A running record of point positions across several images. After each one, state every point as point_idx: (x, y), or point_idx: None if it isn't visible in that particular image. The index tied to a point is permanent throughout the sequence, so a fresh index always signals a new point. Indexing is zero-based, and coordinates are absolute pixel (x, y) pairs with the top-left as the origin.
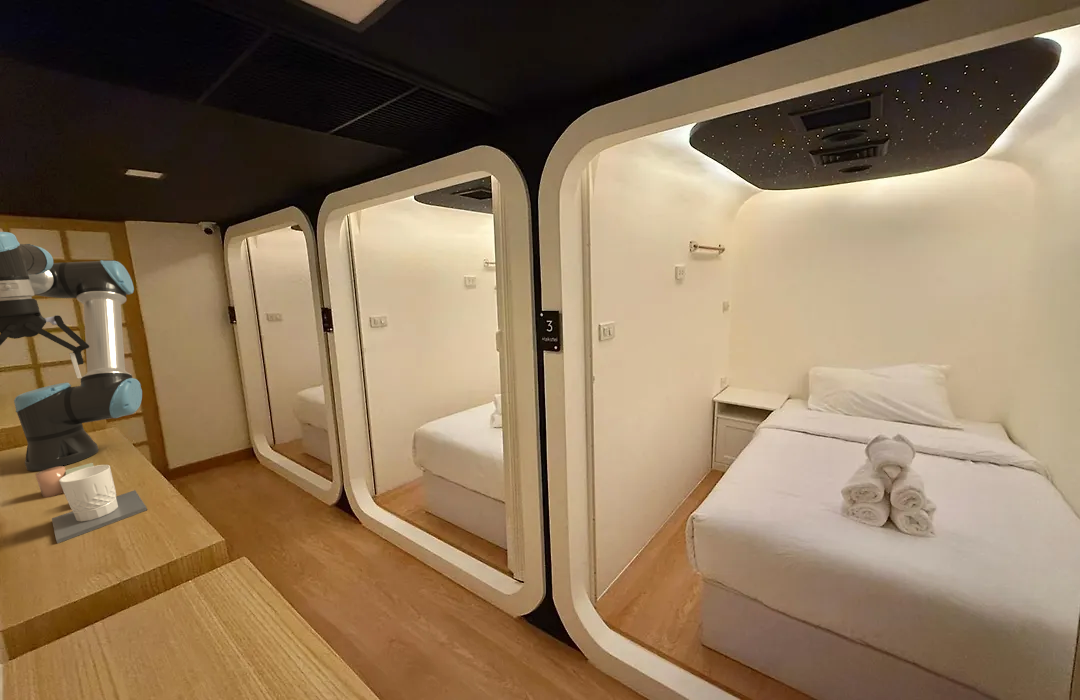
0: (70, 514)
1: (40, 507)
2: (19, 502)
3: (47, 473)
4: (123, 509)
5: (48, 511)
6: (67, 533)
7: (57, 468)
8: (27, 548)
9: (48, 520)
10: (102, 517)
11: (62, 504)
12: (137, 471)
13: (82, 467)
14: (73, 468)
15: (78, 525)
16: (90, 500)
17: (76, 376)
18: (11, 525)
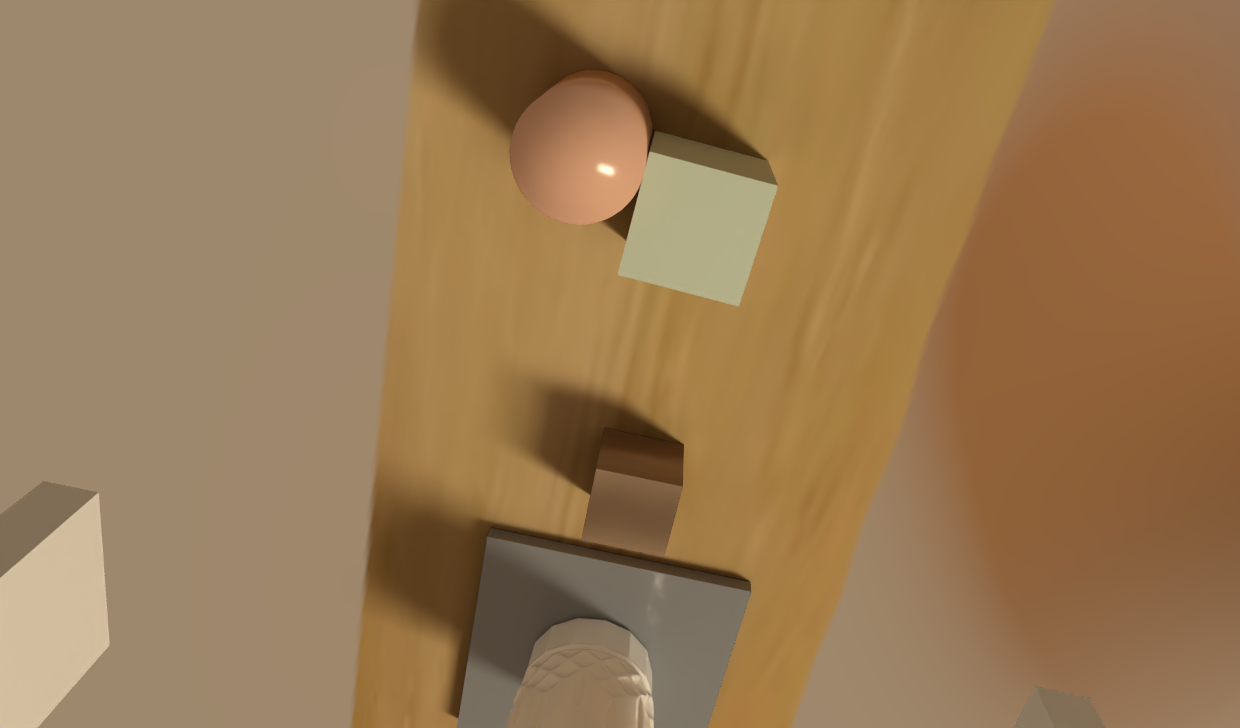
0: (535, 572)
1: (496, 296)
2: (451, 79)
3: (554, 205)
4: None
5: (505, 392)
6: (487, 720)
7: (613, 159)
8: (399, 663)
9: (484, 497)
10: None
11: (558, 370)
12: (906, 292)
13: (711, 225)
14: (681, 177)
15: None
16: None
17: (1032, 717)
18: (390, 391)
